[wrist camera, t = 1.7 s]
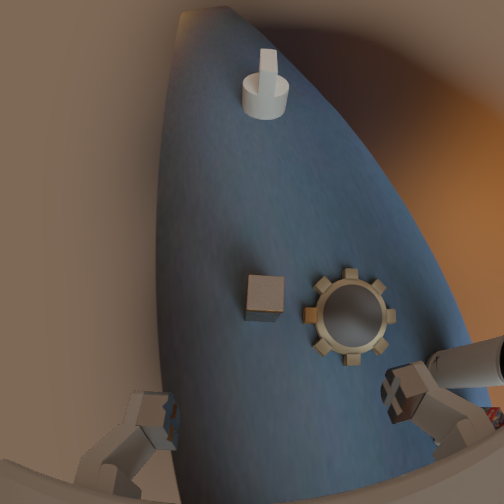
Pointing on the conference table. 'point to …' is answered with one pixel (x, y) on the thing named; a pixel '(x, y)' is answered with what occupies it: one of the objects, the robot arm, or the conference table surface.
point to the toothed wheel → (349, 317)
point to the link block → (264, 298)
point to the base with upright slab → (265, 89)
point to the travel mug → (469, 365)
